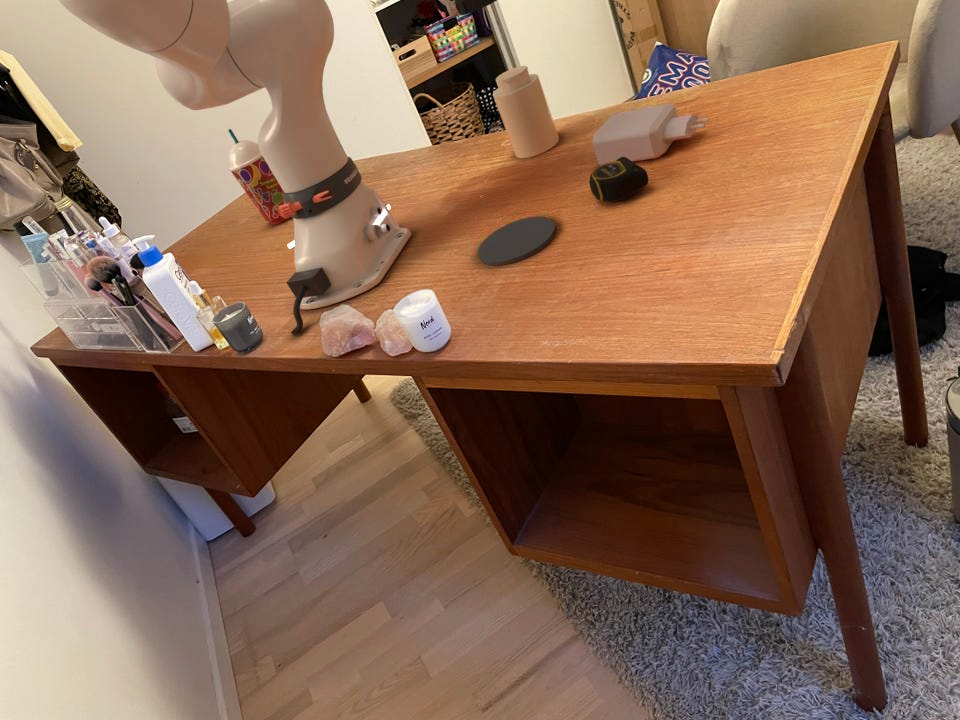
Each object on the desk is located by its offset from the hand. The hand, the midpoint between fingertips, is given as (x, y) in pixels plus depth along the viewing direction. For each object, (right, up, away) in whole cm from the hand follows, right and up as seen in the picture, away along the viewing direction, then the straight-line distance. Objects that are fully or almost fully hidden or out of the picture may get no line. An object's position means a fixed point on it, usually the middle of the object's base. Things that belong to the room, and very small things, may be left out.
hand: (480, 3), depth 103 cm
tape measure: (+19, -31, -11) cm, 38 cm away
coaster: (+5, -38, -11) cm, 40 cm away
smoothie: (-42, -24, +42) cm, 64 cm away
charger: (+26, -23, -4) cm, 35 cm away
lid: (-1, +1, -1) cm, 2 cm away
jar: (+10, -17, +16) cm, 25 cm away
